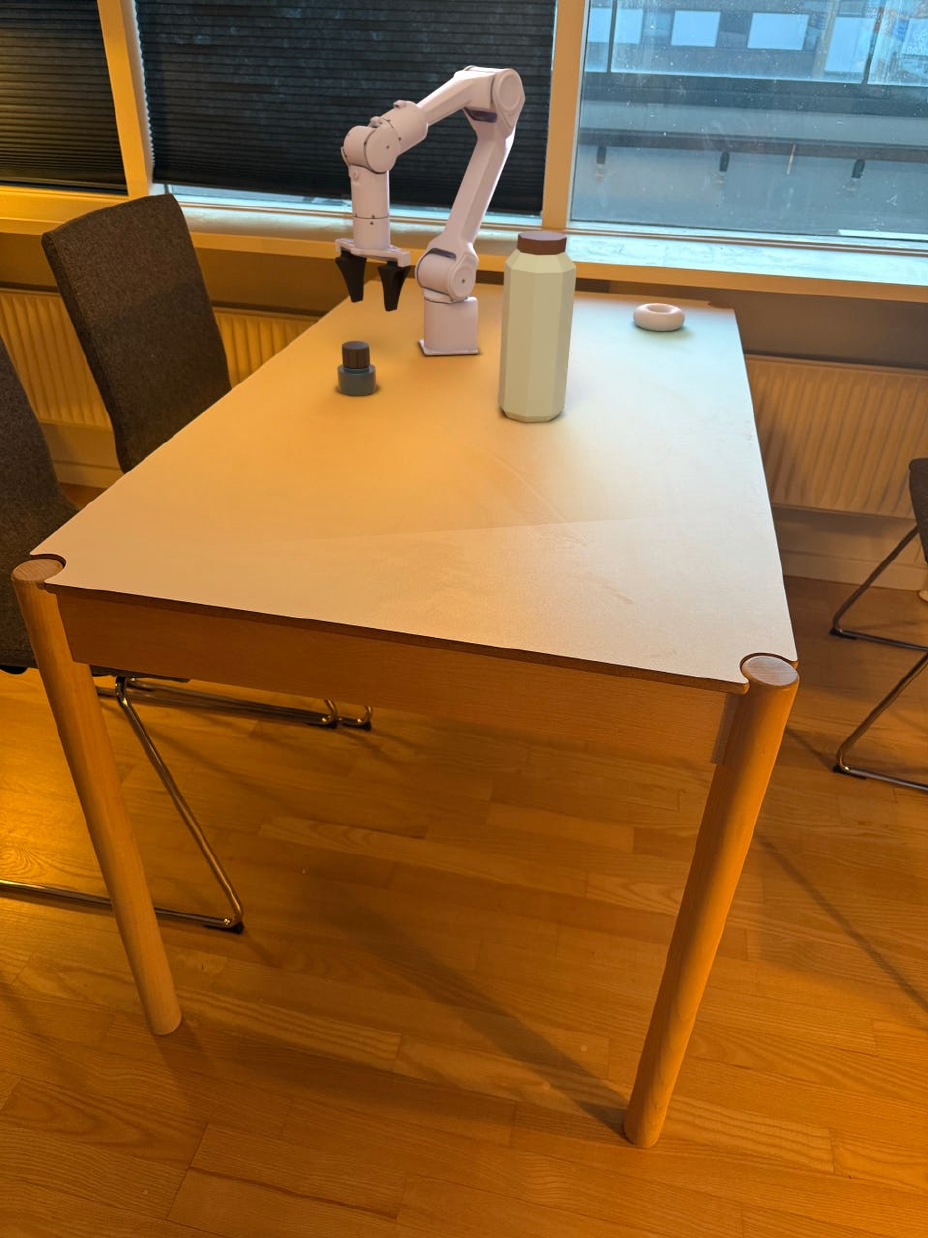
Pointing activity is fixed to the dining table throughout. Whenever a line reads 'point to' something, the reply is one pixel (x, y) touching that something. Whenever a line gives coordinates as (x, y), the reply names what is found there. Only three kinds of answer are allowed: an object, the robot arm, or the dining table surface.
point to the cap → (355, 354)
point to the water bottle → (536, 327)
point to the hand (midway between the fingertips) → (373, 305)
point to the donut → (659, 317)
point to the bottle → (356, 380)
